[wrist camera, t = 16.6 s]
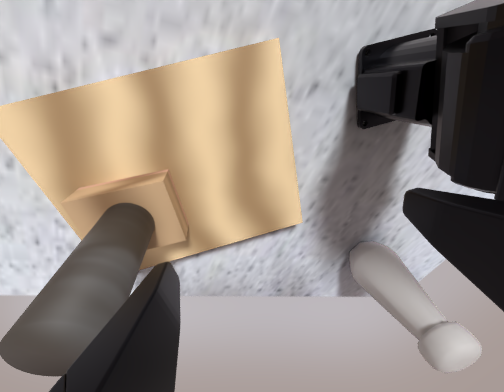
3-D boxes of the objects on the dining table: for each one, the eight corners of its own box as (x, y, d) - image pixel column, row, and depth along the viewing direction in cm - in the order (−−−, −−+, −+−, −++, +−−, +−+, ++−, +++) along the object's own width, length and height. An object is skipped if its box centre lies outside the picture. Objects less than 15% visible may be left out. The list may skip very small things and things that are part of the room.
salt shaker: (364, 273, 31) (455, 384, 19) (333, 264, 29) (415, 383, 17) (391, 241, 29) (511, 345, 17) (360, 230, 27) (473, 338, 15)
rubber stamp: (168, 169, 18) (115, 282, 8) (188, 223, 20) (169, 361, 10) (79, 187, 17) (-107, 337, 7) (111, 241, 20) (10, 405, 10)
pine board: (273, 41, 16) (278, 37, 15) (297, 214, 24) (302, 222, 23) (-1, 108, 15) (-21, 111, 14) (116, 267, 23) (111, 278, 22)
